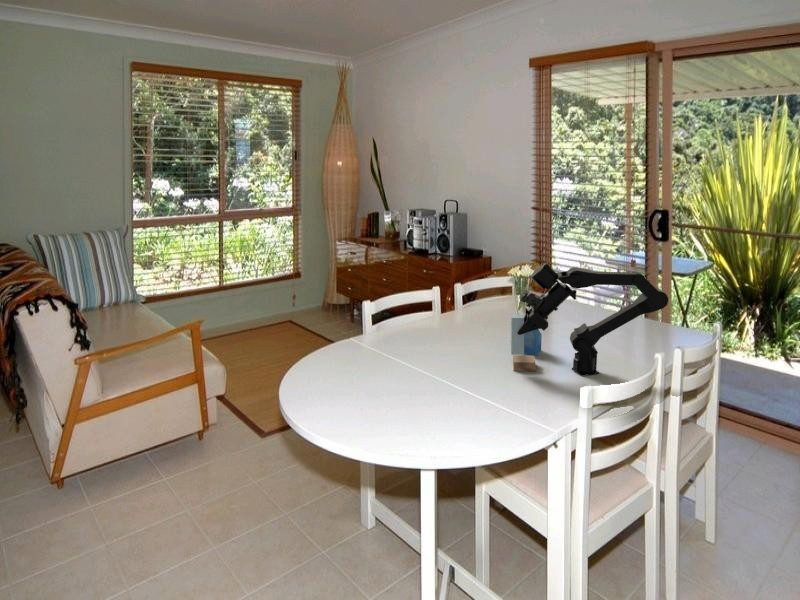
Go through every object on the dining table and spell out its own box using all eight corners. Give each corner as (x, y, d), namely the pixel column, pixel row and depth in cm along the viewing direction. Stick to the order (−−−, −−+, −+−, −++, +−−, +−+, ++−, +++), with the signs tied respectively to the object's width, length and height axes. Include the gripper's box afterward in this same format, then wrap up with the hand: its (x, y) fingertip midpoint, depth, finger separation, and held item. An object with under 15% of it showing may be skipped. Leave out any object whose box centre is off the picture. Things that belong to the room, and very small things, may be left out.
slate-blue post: (522, 350, 187) (523, 314, 184) (523, 354, 183) (524, 317, 181) (510, 350, 188) (510, 314, 185) (511, 354, 184) (511, 317, 181)
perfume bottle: (541, 350, 206) (542, 319, 203) (535, 355, 201) (536, 323, 198) (524, 348, 209) (525, 317, 206) (518, 353, 204) (519, 321, 201)
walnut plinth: (533, 363, 193) (533, 355, 192) (535, 371, 186) (535, 362, 185) (512, 363, 194) (513, 355, 193) (513, 370, 187) (513, 362, 186)
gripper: (532, 276, 188) (499, 308, 192) (537, 288, 170) (501, 323, 175) (556, 298, 189) (522, 330, 193) (564, 313, 171) (526, 347, 175)
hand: (517, 332), depth 184 cm, fingers closed on slate-blue post, 4 cm apart
